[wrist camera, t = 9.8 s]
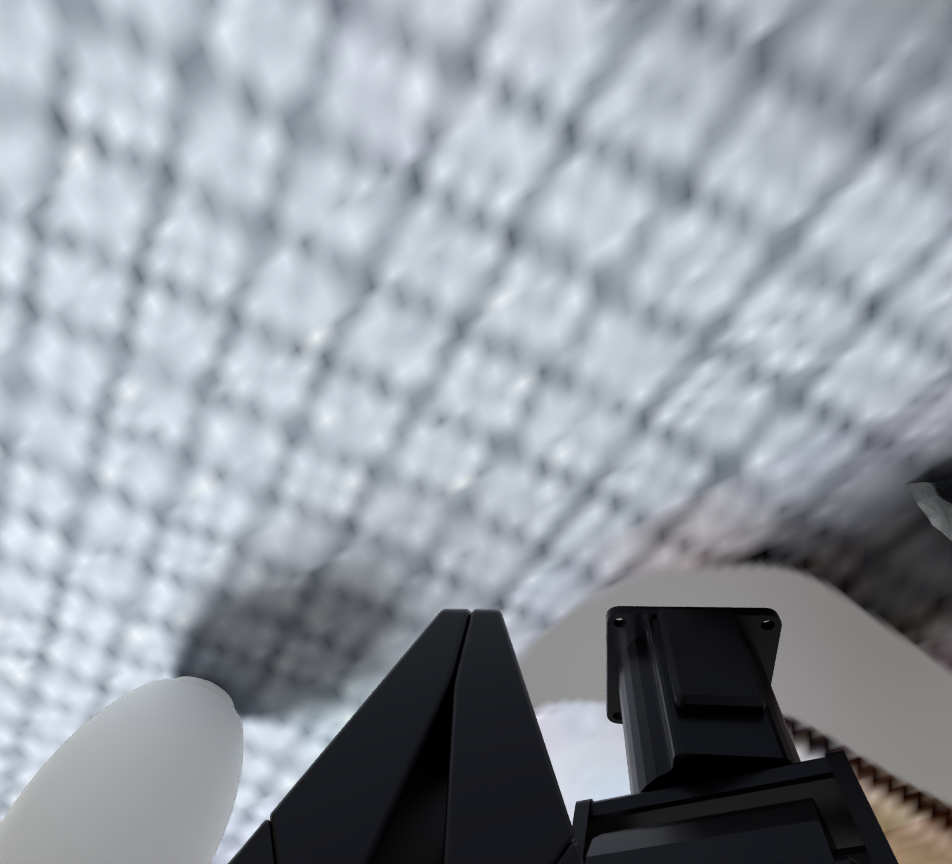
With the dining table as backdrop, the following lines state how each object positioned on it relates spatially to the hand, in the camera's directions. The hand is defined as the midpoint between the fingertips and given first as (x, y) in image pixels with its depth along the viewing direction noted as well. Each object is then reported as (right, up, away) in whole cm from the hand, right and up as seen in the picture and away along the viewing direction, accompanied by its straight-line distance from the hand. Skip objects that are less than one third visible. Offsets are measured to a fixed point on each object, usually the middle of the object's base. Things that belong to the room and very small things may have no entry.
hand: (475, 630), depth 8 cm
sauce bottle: (-14, -10, +21) cm, 27 cm away
